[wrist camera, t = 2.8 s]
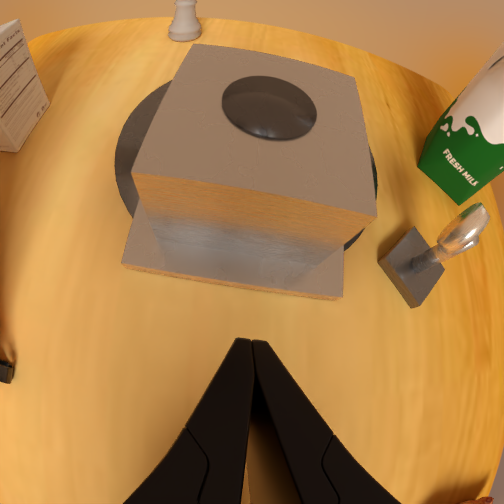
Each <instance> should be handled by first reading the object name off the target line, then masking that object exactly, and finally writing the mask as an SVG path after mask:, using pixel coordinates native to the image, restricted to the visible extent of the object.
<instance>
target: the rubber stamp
mask: <svg viewBox="0 0 504 504" xmlns="http://www.w3.org/2000/svg"><path fill="white" fill-rule="evenodd" d="M489 219H490V216H489V214H488V212H487V211H486V209H485V208H484V206H483V205H482V203H476V204H474V205H472V206H470V207H469V208H467V209H466V210H465V211H463V212H462V213H461V214H459V215H458V216H457V217H456V218H455V219H454V220H453V221H452V222H451V223H449V225H448V226H447V227H446V228H445V229H444V230H443V231H442V232H441V234H440V235H439V237H438V239H437V243H438V244H437V245H435V246H433V247H432V248H430V247H429V246H428V244H427V243H426V241H425V240H424V239H423V237H422V236H421V235H420V233H419V232H418V230H417V229H416V228H415V226H414V227H412V228H411V229H409V230H408V231H406V233H405V234H404V235H403V236H402V237H401V238H400V239H399V240H398V241H397V242H396V244H395V245H394V246H393V247H392V248H391V249H390V250H389V251H388V252H387V253H386V254H385V255H384V256H383V257H382V258H381V259H380V260H379V261H378V264H379V265H380V266H381V268H382V269H383V270H384V272H385V273H386V274H387V276H388V277H389V278H390V280H391V281H392V282H393V284H394V285H395V287H396V288H397V289H398V291H399V292H400V294H401V295H402V296H403V298H404V299H405V301H406V302H407V304H408V305H409V306H410V308H415V307H418V306H420V305H421V304H422V302H423V301H424V300H425V298H426V297H427V295H428V294H429V293H430V291H431V290H432V288H433V287H434V285H435V284H436V283H437V281H438V280H439V278H440V277H441V275H442V274H443V272H444V270H445V269H444V268H443V266H442V265H441V262H444V261H446V260H448V259H450V258H452V257H454V256H456V255H458V254H460V253H462V252H464V251H466V250H468V249H470V248H472V247H474V246H476V245H477V244H478V243H479V237H478V235H479V234H480V233H481V232H482V231H483V230H484V228H485V227H486V225H487V224H488V222H489Z"/></svg>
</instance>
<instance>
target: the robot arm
mask: <svg viewBox="0 0 504 504" xmlns="http://www.w3.org/2000/svg"><path fill="white" fill-rule="evenodd" d="M246 461H247V471H248V481H249V491H250V500H251V504H401V503H400V502H399V501H398V500H397V499H395V498H394V497H393V496H392V495H391V494H390V493H389V492H388V491H387V490H386V489H385V488H383V487H382V486H381V485H380V484H379V483H378V482H377V481H376V480H375V479H374V478H373V477H372V476H371V475H370V474H369V473H368V472H367V471H366V470H365V469H364V468H363V467H362V466H361V465H360V464H359V463H358V462H357V461H356V460H355V459H354V457H353V456H352V455H351V454H350V453H349V451H348V450H347V449H346V448H345V447H344V445H343V444H342V443H341V442H340V440H339V439H338V438H337V436H336V435H333V431H332V430H331V429H330V427H329V426H328V425H327V423H326V422H325V421H324V419H323V418H322V417H321V415H320V414H319V413H318V411H317V410H316V409H315V407H314V406H313V405H312V403H311V402H310V401H309V399H308V398H307V397H306V395H305V394H304V392H303V391H302V390H301V388H300V387H299V386H298V384H297V383H296V381H295V380H294V379H293V377H292V376H291V374H290V373H289V372H288V370H287V369H286V368H285V366H284V365H283V363H282V362H281V360H280V359H279V358H278V356H277V355H276V353H275V352H274V351H273V349H272V348H271V346H270V345H269V343H268V342H267V341H263V340H252V341H251V340H250V339H246V338H236V339H235V340H234V342H233V344H232V346H231V347H230V349H229V351H228V353H227V354H226V356H225V358H224V360H223V361H222V363H221V365H220V367H219V368H218V370H217V372H216V374H215V375H214V377H213V379H212V380H211V382H210V384H209V386H208V387H207V389H206V391H205V392H204V394H203V396H202V398H201V399H200V401H199V403H198V404H197V406H196V408H195V409H194V411H193V413H192V414H191V416H190V418H189V419H188V421H187V423H186V424H185V428H183V429H182V431H181V432H180V434H179V436H178V437H177V439H176V440H175V442H174V443H173V445H172V446H171V448H170V449H169V451H168V452H167V454H166V455H165V457H164V458H163V459H162V460H161V462H160V463H159V464H158V465H157V466H156V468H155V469H154V470H153V471H152V473H151V474H150V475H149V476H148V477H147V478H146V479H145V480H144V481H143V482H142V484H141V485H140V486H139V487H138V488H137V489H136V490H135V491H134V492H133V493H132V494H131V495H130V496H129V497H128V499H127V500H126V501H125V502H124V503H123V504H241V497H242V488H243V480H244V472H245V463H246Z"/></svg>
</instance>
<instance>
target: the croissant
mask: <svg viewBox="0 0 504 504" xmlns="http://www.w3.org/2000/svg"><path fill="white" fill-rule="evenodd" d="M493 499H494V498H492V497H482V498H480V499H478V500H469V501H465V502H463V503H460V504H492V503H493Z"/></svg>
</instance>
